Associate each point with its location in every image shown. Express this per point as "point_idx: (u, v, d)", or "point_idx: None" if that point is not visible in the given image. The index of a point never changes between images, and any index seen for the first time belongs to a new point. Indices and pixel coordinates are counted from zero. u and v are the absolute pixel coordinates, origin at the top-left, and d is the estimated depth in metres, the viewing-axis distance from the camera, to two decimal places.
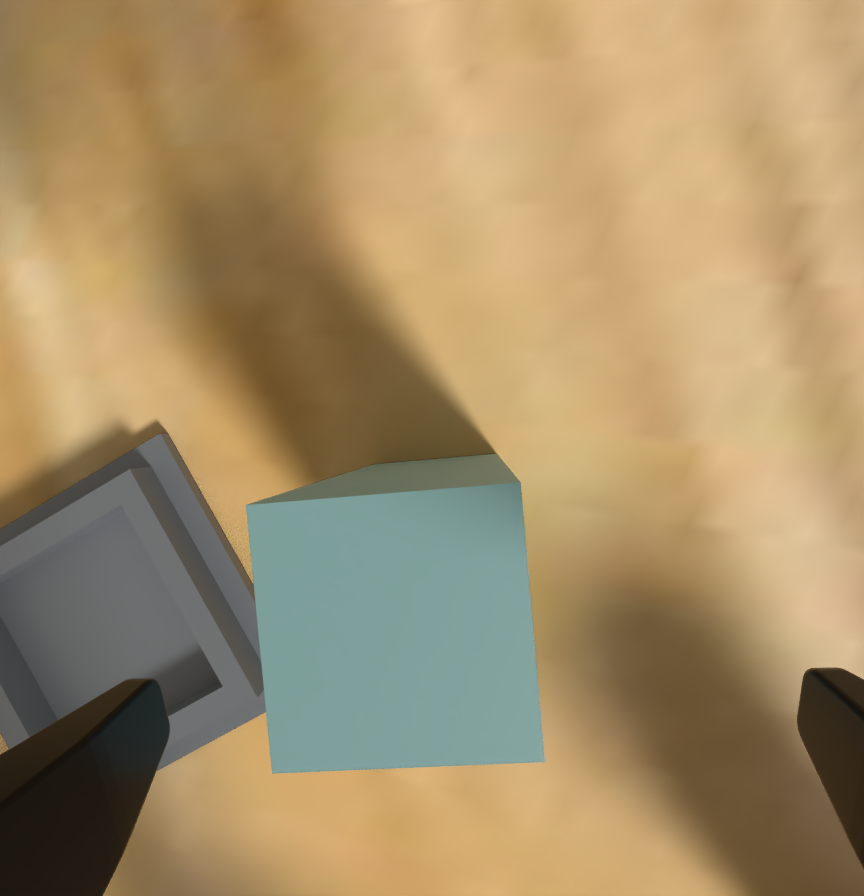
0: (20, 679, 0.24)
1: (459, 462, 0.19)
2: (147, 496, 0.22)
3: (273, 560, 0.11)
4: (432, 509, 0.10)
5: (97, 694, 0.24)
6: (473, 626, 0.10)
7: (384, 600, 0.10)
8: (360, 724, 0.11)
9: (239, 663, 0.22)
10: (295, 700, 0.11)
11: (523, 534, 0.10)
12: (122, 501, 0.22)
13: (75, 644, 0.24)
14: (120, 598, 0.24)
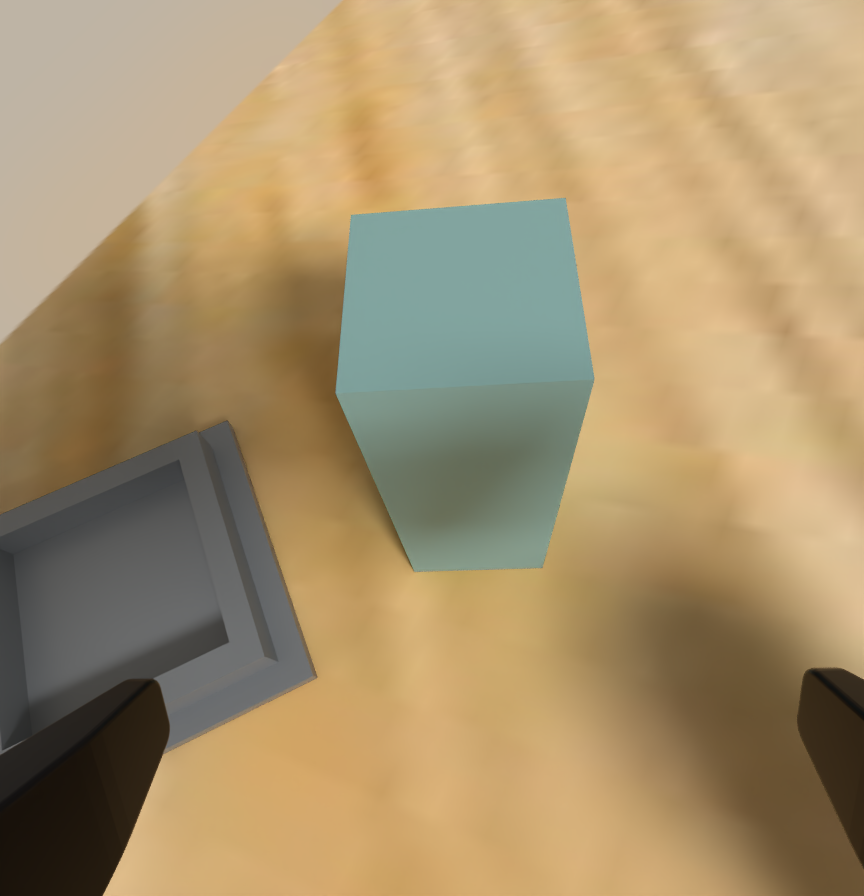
0: (10, 639, 0.22)
1: None
2: (204, 455, 0.24)
3: (366, 246, 0.13)
4: (496, 214, 0.13)
5: (83, 670, 0.22)
6: (527, 283, 0.12)
7: (454, 268, 0.13)
8: (423, 353, 0.12)
9: (253, 618, 0.21)
10: (367, 337, 0.12)
11: (568, 226, 0.13)
12: (181, 456, 0.24)
13: (80, 612, 0.23)
14: (143, 565, 0.23)
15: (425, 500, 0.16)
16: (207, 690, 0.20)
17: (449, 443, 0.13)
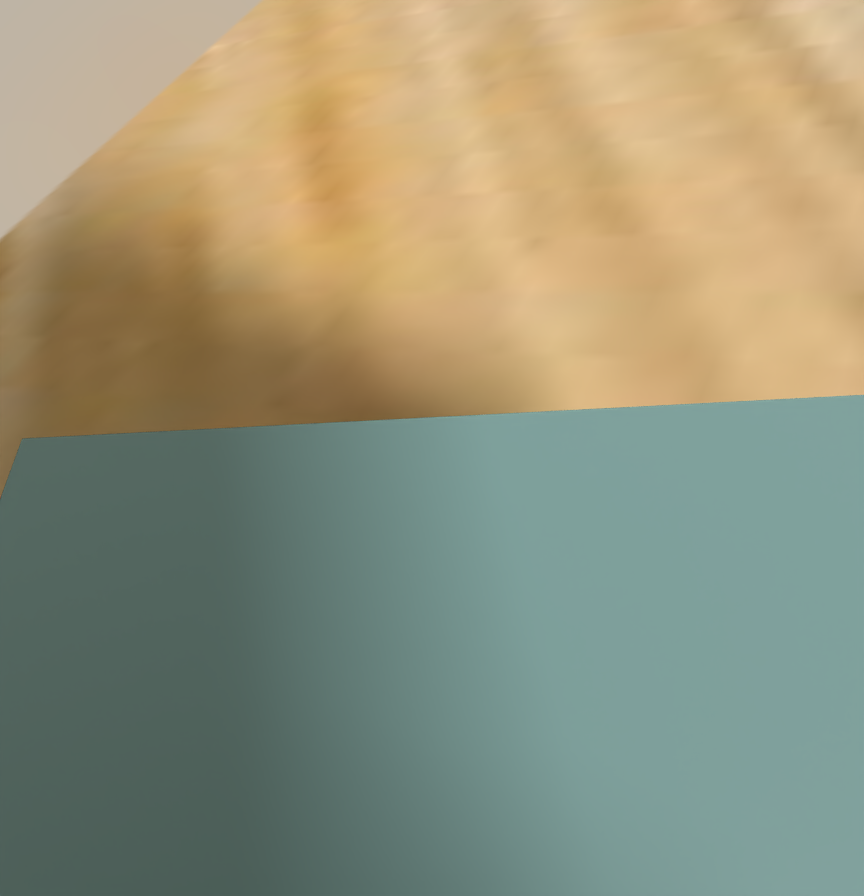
0: None
1: None
2: None
3: (32, 610, 0.03)
4: (588, 466, 0.03)
5: None
6: None
7: (397, 800, 0.03)
8: None
9: None
10: None
11: None
12: None
13: None
14: None
15: None
16: None
17: None
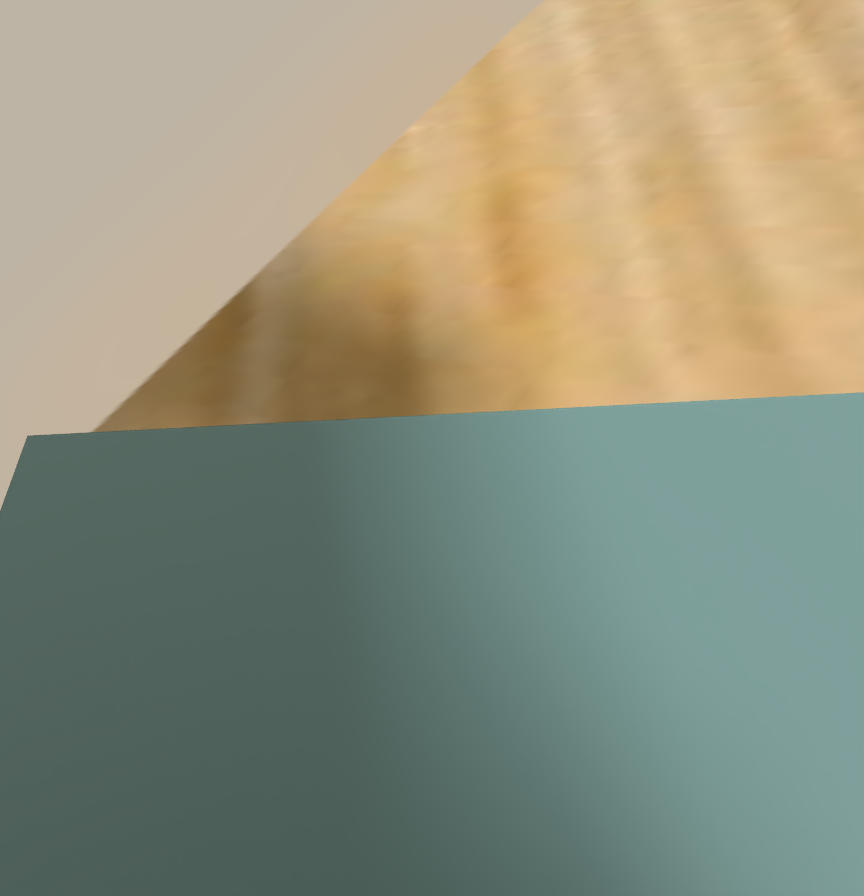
0: None
1: None
2: None
3: (38, 607, 0.03)
4: (593, 462, 0.03)
5: None
6: None
7: (404, 795, 0.03)
8: None
9: None
10: None
11: None
12: None
13: None
14: None
15: None
16: None
17: None
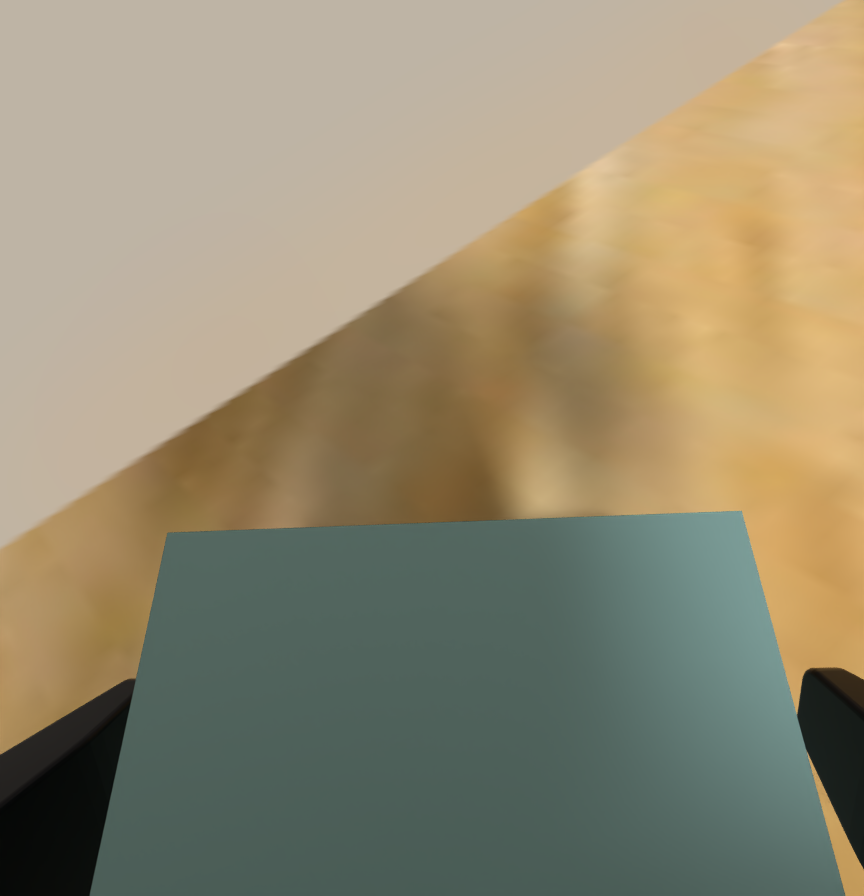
0: None
1: None
2: None
3: (190, 654, 0.05)
4: (551, 558, 0.05)
5: None
6: (671, 876, 0.04)
7: (432, 776, 0.04)
8: None
9: None
10: None
11: (768, 624, 0.04)
12: None
13: None
14: None
15: None
16: None
17: None
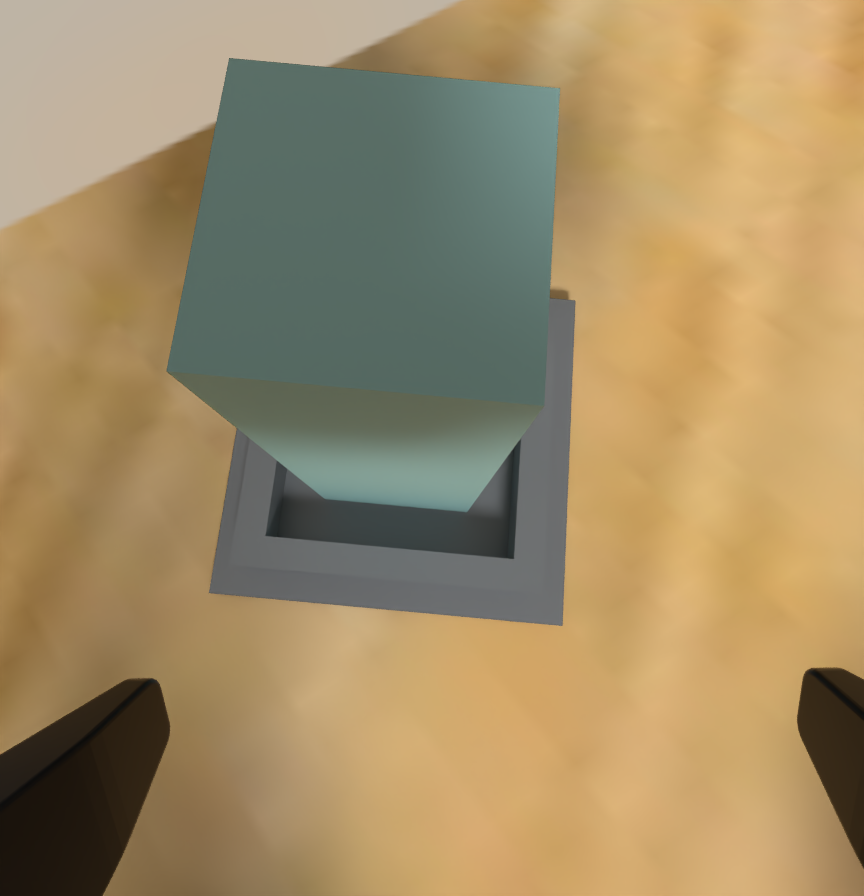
0: None
1: None
2: None
3: (245, 120, 0.08)
4: (452, 99, 0.09)
5: None
6: (478, 229, 0.08)
7: (373, 184, 0.08)
8: (306, 323, 0.08)
9: (544, 548, 0.19)
10: (226, 282, 0.08)
11: (555, 140, 0.09)
12: None
13: None
14: None
15: (326, 462, 0.13)
16: None
17: (346, 429, 0.10)
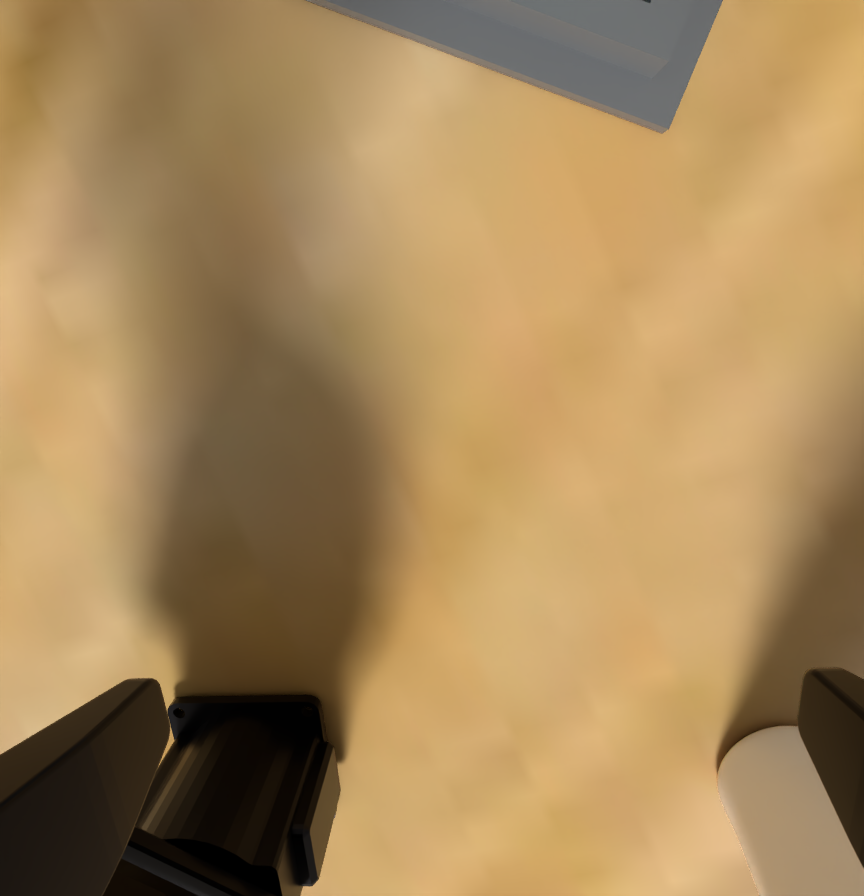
0: None
1: None
2: None
3: None
4: None
5: None
6: None
7: None
8: None
9: None
10: None
11: None
12: None
13: None
14: None
15: None
16: (577, 39, 0.16)
17: None
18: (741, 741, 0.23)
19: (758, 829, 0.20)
